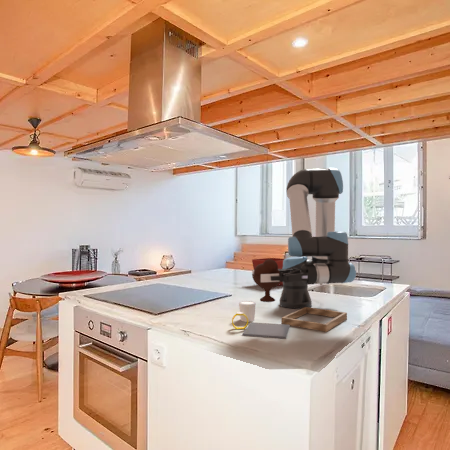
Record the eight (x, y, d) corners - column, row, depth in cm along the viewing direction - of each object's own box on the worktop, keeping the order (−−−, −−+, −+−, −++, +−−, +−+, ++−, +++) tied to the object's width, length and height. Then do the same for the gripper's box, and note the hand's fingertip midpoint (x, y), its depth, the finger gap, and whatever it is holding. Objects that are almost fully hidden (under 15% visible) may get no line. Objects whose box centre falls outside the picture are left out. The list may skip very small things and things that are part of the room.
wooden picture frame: (281, 323, 133) (281, 317, 133) (305, 312, 151) (305, 306, 151) (326, 331, 122) (326, 325, 122) (346, 318, 140) (346, 312, 140)
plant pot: (271, 281, 238) (271, 257, 239) (293, 285, 224) (292, 259, 224) (251, 284, 226) (251, 259, 226) (273, 288, 212) (272, 261, 212)
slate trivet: (242, 335, 119) (242, 333, 119) (250, 323, 134) (250, 322, 134) (286, 338, 115) (286, 336, 115) (289, 326, 130) (289, 324, 130)
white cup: (245, 316, 145) (245, 300, 145) (259, 319, 140) (259, 302, 140) (235, 320, 139) (235, 303, 139) (249, 323, 135) (249, 305, 135)
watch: (247, 328, 129) (248, 312, 129) (248, 330, 126) (248, 313, 126) (231, 327, 129) (232, 311, 129) (231, 329, 126) (232, 313, 126)
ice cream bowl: (279, 297, 130) (278, 257, 131) (285, 303, 119) (284, 260, 119) (251, 297, 130) (250, 258, 130) (254, 304, 119) (254, 260, 119)
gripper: (328, 289, 116) (265, 292, 112) (301, 279, 139) (248, 281, 135) (328, 267, 116) (265, 269, 112) (301, 260, 139) (248, 262, 135)
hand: (256, 276), depth 124 cm, fingers closed on ice cream bowl, 11 cm apart
